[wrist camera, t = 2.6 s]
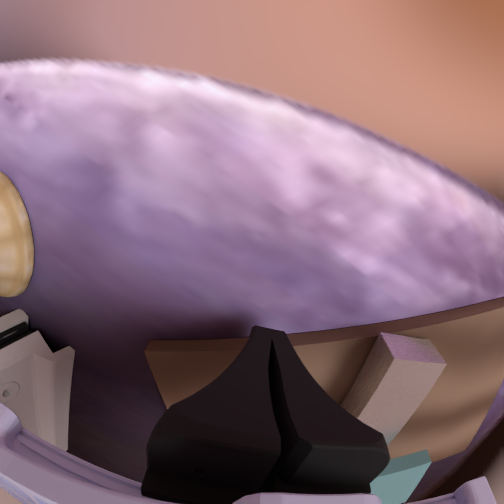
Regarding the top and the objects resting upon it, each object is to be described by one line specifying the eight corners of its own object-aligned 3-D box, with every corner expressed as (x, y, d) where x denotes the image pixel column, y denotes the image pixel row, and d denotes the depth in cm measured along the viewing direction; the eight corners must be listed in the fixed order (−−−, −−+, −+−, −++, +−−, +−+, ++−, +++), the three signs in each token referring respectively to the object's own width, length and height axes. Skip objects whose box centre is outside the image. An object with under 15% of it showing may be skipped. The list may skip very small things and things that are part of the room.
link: (340, 475, 16) (343, 496, 14) (287, 472, 16) (287, 496, 14) (437, 340, 12) (454, 364, 10) (370, 330, 12) (384, 357, 10)
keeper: (394, 463, 16) (406, 507, 12) (228, 481, 18) (221, 527, 13) (413, 416, 15) (434, 468, 10) (210, 438, 16) (199, 495, 12)
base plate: (461, 442, 17) (465, 449, 16) (209, 480, 19) (208, 489, 18) (521, 291, 13) (530, 298, 12) (150, 340, 15) (143, 351, 14)
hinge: (67, 450, 21) (1, 495, 11) (39, 417, 22) (-28, 454, 12) (76, 346, 15) (-57, 407, 6) (37, 299, 17) (-83, 338, 7)
